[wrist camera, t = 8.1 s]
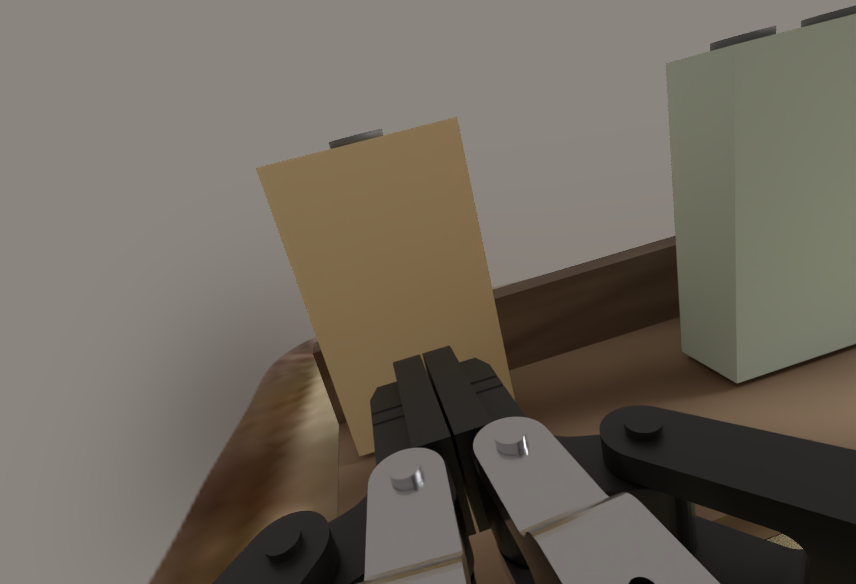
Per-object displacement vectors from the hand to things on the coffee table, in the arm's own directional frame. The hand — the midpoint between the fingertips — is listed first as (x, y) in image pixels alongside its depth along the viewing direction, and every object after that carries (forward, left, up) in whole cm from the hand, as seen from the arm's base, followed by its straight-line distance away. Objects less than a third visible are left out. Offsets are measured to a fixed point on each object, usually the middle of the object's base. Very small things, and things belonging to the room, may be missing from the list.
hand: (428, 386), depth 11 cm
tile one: (-5, -6, -6) cm, 10 cm away
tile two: (-15, +5, -6) cm, 17 cm away
